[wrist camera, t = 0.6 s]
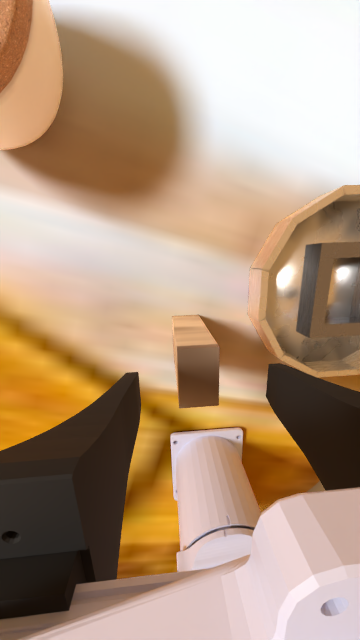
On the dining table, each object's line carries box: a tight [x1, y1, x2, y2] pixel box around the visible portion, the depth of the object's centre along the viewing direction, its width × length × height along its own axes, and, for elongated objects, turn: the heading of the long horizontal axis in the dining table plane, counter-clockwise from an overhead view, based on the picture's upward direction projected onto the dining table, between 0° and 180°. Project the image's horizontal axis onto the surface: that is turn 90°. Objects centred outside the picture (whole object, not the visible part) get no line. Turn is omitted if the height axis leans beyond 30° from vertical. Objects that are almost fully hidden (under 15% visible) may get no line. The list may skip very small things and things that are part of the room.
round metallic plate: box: [247, 185, 360, 378], centre depth 19 cm, size 16×16×2 cm
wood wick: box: [172, 315, 220, 408], centre depth 17 cm, size 4×2×8 cm, turn 2°
